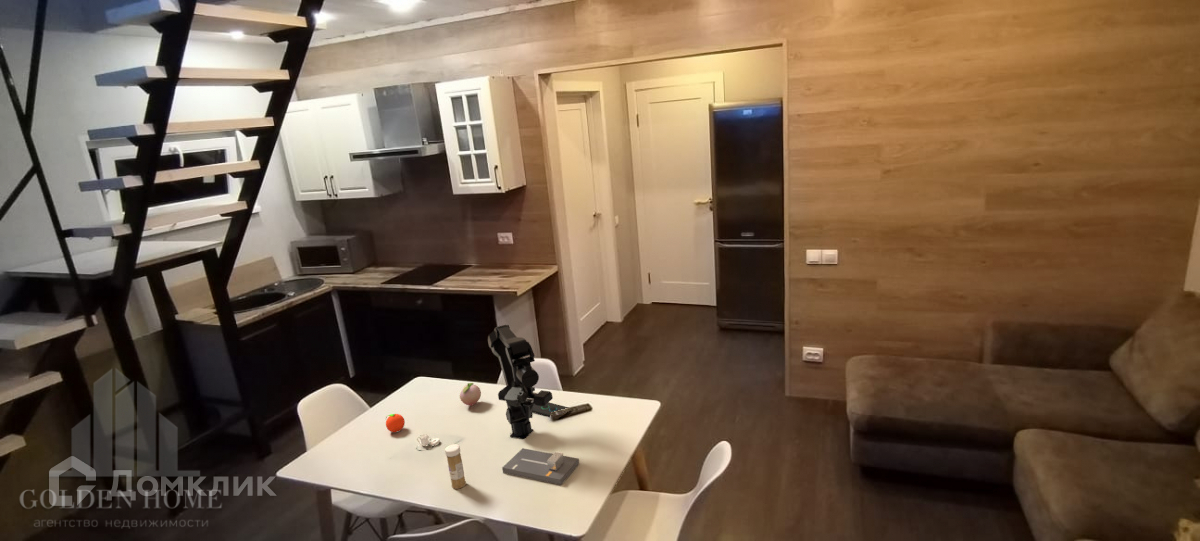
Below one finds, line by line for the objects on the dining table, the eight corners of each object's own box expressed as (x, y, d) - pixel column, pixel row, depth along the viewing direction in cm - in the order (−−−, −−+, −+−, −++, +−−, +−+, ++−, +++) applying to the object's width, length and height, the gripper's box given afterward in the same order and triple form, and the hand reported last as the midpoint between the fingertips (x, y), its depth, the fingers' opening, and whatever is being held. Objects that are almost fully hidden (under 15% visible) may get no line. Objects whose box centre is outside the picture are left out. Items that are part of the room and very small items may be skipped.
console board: (503, 472, 188) (502, 467, 188) (523, 453, 199) (522, 447, 198) (561, 485, 178) (560, 479, 178) (579, 463, 189) (578, 458, 188)
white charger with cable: (443, 442, 213) (441, 432, 212) (428, 453, 206) (426, 443, 205) (425, 439, 217) (423, 429, 216) (410, 450, 210) (408, 440, 209)
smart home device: (557, 416, 219) (519, 406, 231) (558, 421, 219) (519, 410, 231) (570, 407, 225) (533, 397, 237) (571, 411, 226) (533, 401, 238)
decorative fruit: (480, 409, 235) (476, 387, 232) (460, 411, 235) (456, 389, 232) (484, 399, 244) (481, 377, 241) (465, 401, 244) (461, 379, 242)
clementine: (381, 434, 223) (377, 417, 221) (393, 425, 229) (390, 409, 228) (398, 436, 220) (394, 419, 218) (410, 427, 226) (406, 411, 225)
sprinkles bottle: (449, 486, 184) (441, 448, 181) (460, 479, 188) (453, 442, 184) (457, 491, 181) (450, 453, 178) (469, 483, 185) (462, 446, 181)
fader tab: (548, 468, 184) (547, 460, 183) (556, 460, 188) (555, 452, 187) (556, 470, 182) (555, 462, 182) (564, 461, 187) (563, 453, 186)
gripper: (485, 383, 191) (492, 426, 195) (532, 389, 183) (538, 434, 186) (504, 370, 201) (511, 410, 204) (550, 375, 192) (556, 417, 196)
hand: (528, 418), depth 198 cm, fingers closed
